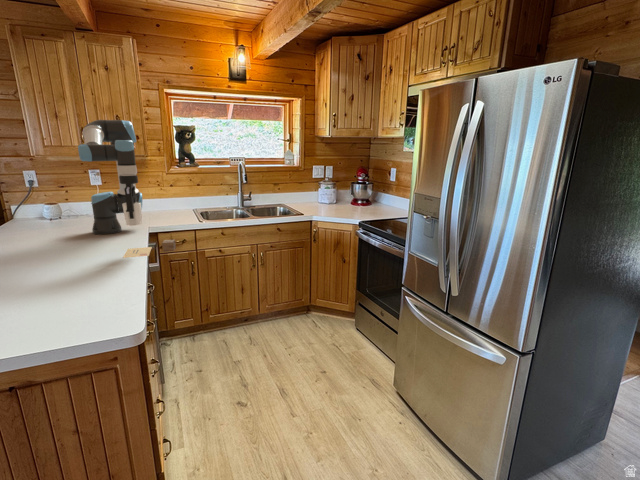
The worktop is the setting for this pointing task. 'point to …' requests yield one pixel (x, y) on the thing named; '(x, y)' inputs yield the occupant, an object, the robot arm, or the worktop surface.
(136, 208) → the white cup
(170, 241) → the walnut block
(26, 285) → the worktop surface
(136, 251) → the envelope
